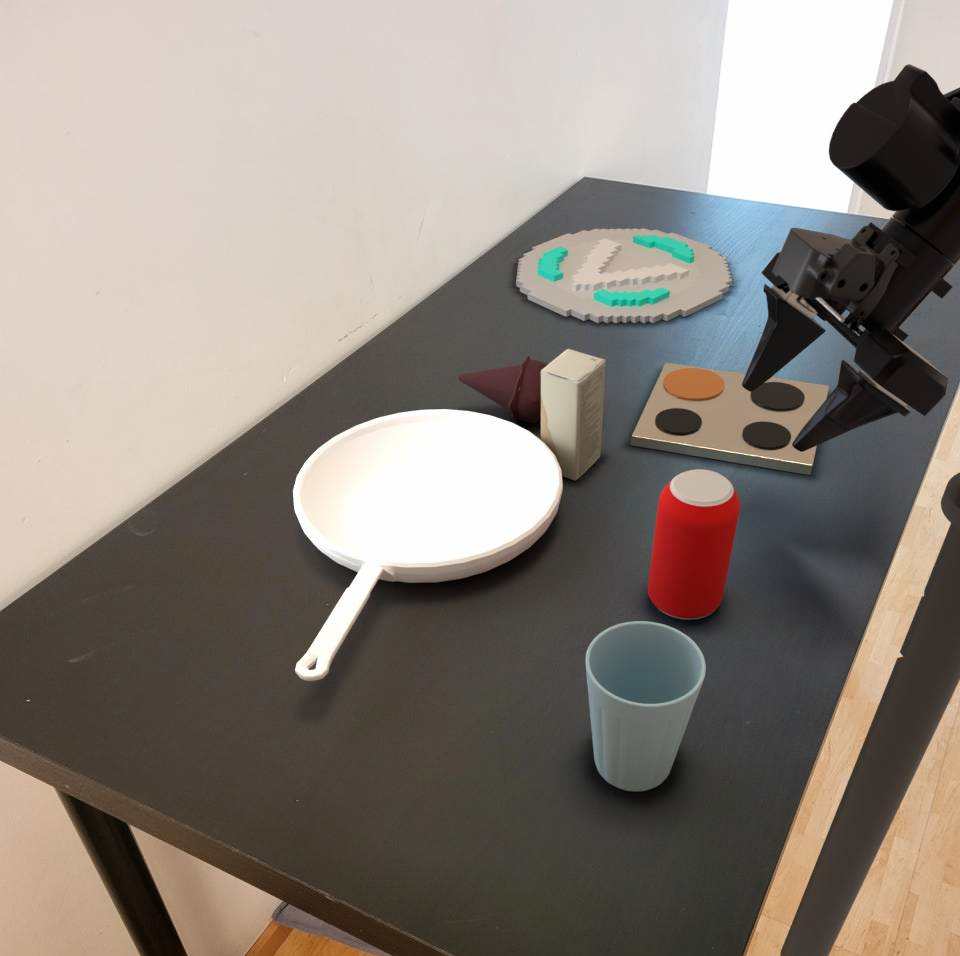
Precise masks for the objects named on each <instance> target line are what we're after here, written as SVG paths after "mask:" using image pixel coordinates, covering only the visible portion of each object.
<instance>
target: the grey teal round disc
mask: <svg viewBox="0 0 960 956" xmlns="http://www.w3.org/2000/svg"><path fill="white" fill-rule="evenodd" d="M730 270H731V268H729V261H728V257H726V256H722V252H719V251H718V250H717V251H716V250H714V249H712V246H711V245H709V244H705V243H704V242H700V241H698V240H694V239H691V238H689V237H686V236H683V235H680V234H677V233H675V232H669V233H667V232H664V231H661V230H658V229H653V230H651V229H648V228H644V227H642V228H640V229H639V228H637V227H634V228H629V227H627V228H624V229H623V228H620V227H618V228H616V229H615V228H612V227H611V228H609V229H608V228H605V227H603V228H601V229H600V228H593V229H591V230H586V229H583V230H581V231H578V232H576V233H573V234H571V233H570V232H567V233H566V234H563V235H560V236H558V237H555V238H553V239H549V240H547V241H545V242H542V243H540V244H537V245H535V246H532V247H531V250H530V251H528V252H525V253H523V254H522V257H521V258H519V259H518V262H517V270H516V271H517V272H516V279H515V286H516V288H519V292H520V293H522V294H523V295H526V296H527V301H531V302H533V303H535V304H537V305H539V306H541V307H543V308H546V309H548V310H550V311H552V312H554V313H556V314H559V315H561V316H563V317H565V318H567V317H569V316H572V317H574V318H576V319H578V320H580V321H583V322H586V321H588V320H589V321H592V322H594V323H596V324H601V323H602V322H603V323H606V324H609V323H611V322H612V323H614V324H618V323H620V322H622V323H623V324H627V323H633V324H636V323H639V322H640V323H642V324H646V323H648V322H649V323H651V324H655V323H657V322H659V321H662V320H663V321H665V322H669V321H671V320H673V319H675V318H677V317H680V316H681V317H683V318H686V317H688V316H690V315H692V314H694V313H696V312H698V311H700V310H702V309H704V308H706V307H709V306H711V305H713V304H715V303H717V302H719V301H722V299H723V295H725V294H726V293H729V292H730V287H732V286H733V279H732V277H733V276H732V275H731V274H732V272H731V271H730Z"/></svg>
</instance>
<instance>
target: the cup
mask: <svg viewBox="0 0 960 956" xmlns="http://www.w3.org/2000/svg"><path fill="white" fill-rule="evenodd" d="M584 664H585V672H586V673H585V675H586V684H587V695H588V706H589V717H590V729H591V739H592V740H591V741H592V747H593V748H592V749H593V760H594V764H595V767H596V769H597V772H598V774H599V775H600V776H601V777H602V778H603V779H604V780H605V781H606V782H607V783H608V784H609V785H611V786H613V787H615V788H617V789H620V790H623V791H627V792H646V791H648V790H652V789H653V788H654V789H655V788H656V787H658V786H660V785H661V784H662V783H664V782H665V780H666V779H668V776H669V775H670V773H671V770H672V767H673V766H674V762H675V760H676V757H677V755H678V752H679V748H680V747H681V746H680V745H681V743H682V741H683V737H684V734H685V732H686V729H687V726H688V723H689V721H690V719H691V715H692V712H693V710H694V707H695V704H696V702H697V699H698V698H699V694H700V691H701V689H702V686H703V683H704V681H705V677H706V673H707V665H706V659H705V656H704V654H703V651H702V650H701V649H700V647H699V646H698V645H697V643H696V642H695V641H694V640H693V639H692V638H691V637H690V636H688V635H686V634H685V633H684V632H682V631H681V630H679V629H677V628H674V627H673V626H669V625H667V624H663V623H658V622H654V621H648V620H647V621H646V620H642V621H641V620H636V621H627V622H621V623H617V624H615V625H612V626H610V627H608V628H606V629H604V630H603V631H601V632H600V633H598V634H597V635H596V636H595V637H594V638H593V639H592V640H591V642H590V644H589V645H588V647H587V649H586V653H585V663H584Z"/></svg>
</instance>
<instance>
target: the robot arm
mask: <svg viewBox="0 0 960 956" xmlns="http://www.w3.org/2000/svg"><path fill="white" fill-rule="evenodd" d="M828 156H829V157H828V158H829V160H830V162H831V163H832V165H833V166H834V167H836V169H838V170H839V171H840V172H841V173H842V174H844V175H845V176H846V177H847V178H848V179H850V180H851V181H852V182H853V183H854V184H855V185H856V186H857V187H859V188H860V189H861V190H862V191H864V192H865V193H866V194H867V195H868V196H870V198H872V199H873V200H874V201H875V202H876V203H877V204H879V206H881V207H882V208H883V209H885V210H887V211H891V212H894V213H893V214H892V215H891V216H890V218H889V219H888V220H887V221H886V222H885V223H884V225H883V226H882V227H881V228H880V227H879V226H877V225H876V224H874V223H873V222H871V221H870V222H869V223H868V225H864V226H862V227H861V228H860V229H859V231H858V232H857V233H856V234H855V235H854V236H853V237H852V238H846V237H841V236H838V235H835V234H832V233H826V232H821V231H816V230H810V229H805V228H799V227H791V228H790V230H789V231H788V233H787V236H786V238H785V241H784V243H783V245H782V248H781V250H780V251H778V252H776V253H775V254H774V256H773V257H772V259H770V261H769V262H768V263H767V264H766V266H765V267H764V268H763V270H762V271H761V273H760V274H762V275H763V276H764V277H765V278H766V279H767V281H769V282H770V283H771V284H772V286H771V287H770V286H769V285H768V284H767V283H764V284H763V288H762V289H763V290H762V291H763V293H764V294H765V296H766V297H765V298H766V304H767V319H766V322H765V325H764V328H763V330H762V334H761V337H760V339H759V342H758V343H757V346H756V349H755V351H754V353H753V356H752V358H751V361H750V363H749V365H748V368H747V370H746V373H745V374H746V375H745V377H744V380H743V382H742V386H743V387H744V388H745V389H746V390H748V391H750V392H752V391H754V390H755V389H756V388H758V387H759V386H761V385H762V384H763V383H765V382H766V381H767V380H769V379H770V378H773V377H774V376H775V375H776V374H777V373H779V371H781V370H782V369H783V368H784V367H785V366H786V365H788V364H789V363H790V362H791V361H793V360H794V359H795V358H796V357H797V356H798V355H800V354H801V353H802V352H803V351H805V350H806V349H807V348H809V346H810V345H811V344H813V343H814V342H815V341H816V340H818V339H819V338H820V337H821V336H822V335H823V334H825V333H826V331H827V330H826V329H825V328H824V327H823V326H822V325H821V324H820V323H819V322H818V321H817V320H816V319H815V317H816V316H817V317H818V318H819V319H820V320H822V321H823V322H825V321H826V322H827V323H828V324H829V325H830V326H831V327H832V328H833V329H834V330H835V331H837V332H838V333H839V334H840V335H841V336H842V337H843V338H844V339H845V340H846V341H847V342H849V344H850V345H852V346H853V347H854V348H855V354H854V358H853V363H854V364H856V365H857V367H859V368H860V370H859V369H858V368H856V367H854V366H853V365H852V364H850V363H849V362H847V361H846V360H845V359H842V360H841V362H840V367H839V374H838V379H837V385H836V386H835V388H834V389H833V390H832V391H831V393H830V394H829V396H827V399H826V400H825V402H824V403H823V404H822V405H821V406H820V408H819V409H818V410H817V411H816V412H815V414H814V415H813V416H812V417H811V419H810V420H809V421H808V422H807V423H806V425H805V426H804V427H803V428H802V430H801V431H800V433H799V434H798V436H797V437H796V438H795V440H794V441H793V443H792V446H793V447H794V448H795V449H797V450H798V451H800V452H803V451H806V450H808V449H810V448H812V447H815V446H819V445H822V444H824V443H825V442H828V441H830V440H832V439H835V438H837V437H838V436H841V435H844V434H845V433H848V432H851V431H853V430H854V429H855V430H856V429H857V428H859V427H862V426H865V425H868V424H870V423H873V422H876V421H879V420H881V419H885V418H888V417H891V416H893V415H895V414H900V415H901V416H903V417H905V418H906V417H908V416H909V414H911V413H912V411H911V409H909V407H910V408H912V409H913V410H915V411H916V412H918V413H919V414H920V415H922V416H923V417H926V416H927V415H928V414H929V413H930V412H931V411H932V410H933V409H934V408H935V407H936V406H937V404H939V402H941V400H943V398H944V397H945V395H946V392H947V386H948V382H949V378H948V377H947V376H946V375H945V374H944V373H943V372H942V371H940V370H939V368H937V367H936V366H935V365H934V364H932V363H931V362H930V361H929V360H928V359H926V357H924V356H923V355H922V354H920V353H919V352H917V351H916V350H915V349H913V348H912V347H911V346H909V345H908V344H907V343H905V342H904V341H905V340H906V339H907V338H908V337H909V334H908V333H907V332H906V331H904V330H903V329H902V328H901V327H902V326H903V324H904V323H906V321H908V319H909V318H910V317H911V316H912V315H913V314H914V313H915V312H916V310H917V309H918V308H919V307H920V306H921V305H922V304H923V302H924V301H925V300H926V299H927V298H928V297H929V296H930V295H931V293H933V294H935V295H936V296H937V297H939V298H940V299H941V300H942V299H943V298H944V297H946V295H947V294H948V293H949V292H950V291H951V290H952V288H953V285H951V284H950V283H949V282H948V281H946V279H945V278H946V277H947V276H948V275H949V273H951V271H953V269H954V268H955V266H957V265H958V264H959V263H960V86H959V87H957V88H955V89H952V90H951V91H948V92H946V93H942V91H941V89H940V87H939V85H938V83H937V81H936V80H935V79H934V77H932V75H930V74H929V73H928V72H927V71H926V70H924V69H922V68H920V67H917V66H916V65H913V64H911V63H908V64H905V65H904V66H903V67H902V69H901V70H900V72H899V73H898V74H897V76H896V77H895V78H894V79H893V80H890V81H887V82H883V83H880V84H879V85H877V86H875V87H874V88H871V90H869V91H868V92H867V93H865V94H864V95H863V96H862V97H860V99H858V100H857V101H856V102H852V103H851V104H850V105H849V106H848V107H847V108H846V110H845V111H844V112H843V113H842V115H841V117H840V118H839V120H838V121H837V123H836V126H835V127H834V130H833V131H832V133H831V137H830V140H829V144H828ZM846 311H847V312H849V313H848V315H847V316H846V317H845V316H843V314H844V313H845V312H846ZM861 327H863V328H864V330H863V329H862V328H861ZM907 406H909V407H907Z"/></svg>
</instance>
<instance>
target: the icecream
mask: <svg viewBox="0 0 960 956" xmlns="http://www.w3.org/2000/svg"><path fill="white" fill-rule="evenodd" d="M548 364H549V363H546V362H544V361H540V360H537V359H531V357H530V355H528V356H526V357H525V358H524V361H523V363H521V364H517V365H510V366H506V367H505V366H503V367H497V368H491V369H485V370H478V371H471V372H465V373H459V374H458V377H457V379H458V381H460V382H461V383H462V384H465V385H466V386H468V387H469V388H471V389H473V390H475V391H476V392H478V393H479V394H481V395H483V396H484V397H486V398H488V399H489V400H491V401H492V402H494V403H496V405H499V406H501V407H502V408H503V409H505V410H507V411H508V412H510V413H511V414H510V418H511V419H512V422H513V423H514V424H517V422H518V421H522V422H525V423H533V424H536V423H540V422H541V370H542V369H543V368H545V367H546V366H547V365H548Z"/></svg>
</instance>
